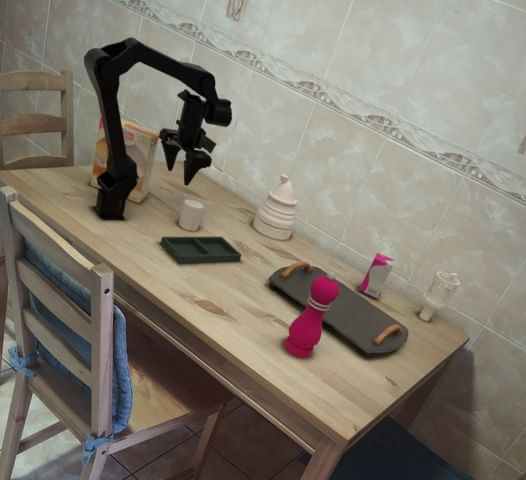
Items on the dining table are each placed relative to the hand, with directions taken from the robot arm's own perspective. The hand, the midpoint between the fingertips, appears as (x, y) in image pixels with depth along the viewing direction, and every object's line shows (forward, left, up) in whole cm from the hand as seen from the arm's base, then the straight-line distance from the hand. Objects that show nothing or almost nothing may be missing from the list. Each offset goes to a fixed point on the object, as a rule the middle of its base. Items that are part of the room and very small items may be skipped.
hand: (177, 177), depth 141 cm
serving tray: (+22, -52, -12) cm, 58 cm away
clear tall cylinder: (+54, -60, -12) cm, 82 cm away
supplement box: (+44, -45, -12) cm, 64 cm away
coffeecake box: (-8, +16, -12) cm, 22 cm away
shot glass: (+4, -5, -12) cm, 14 cm away
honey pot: (+35, -7, -12) cm, 38 cm away
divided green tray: (-1, -20, -12) cm, 23 cm away
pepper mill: (-1, -62, -12) cm, 63 cm away
